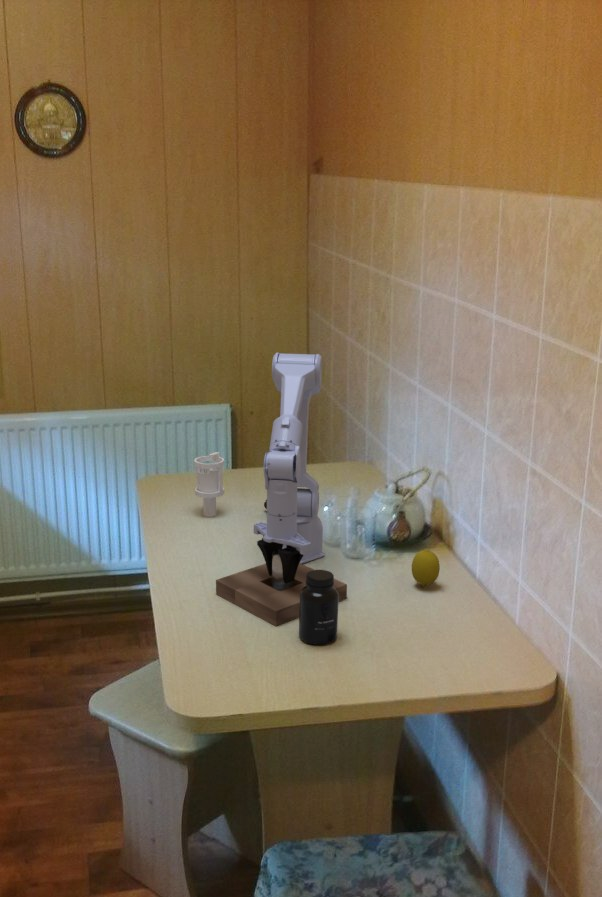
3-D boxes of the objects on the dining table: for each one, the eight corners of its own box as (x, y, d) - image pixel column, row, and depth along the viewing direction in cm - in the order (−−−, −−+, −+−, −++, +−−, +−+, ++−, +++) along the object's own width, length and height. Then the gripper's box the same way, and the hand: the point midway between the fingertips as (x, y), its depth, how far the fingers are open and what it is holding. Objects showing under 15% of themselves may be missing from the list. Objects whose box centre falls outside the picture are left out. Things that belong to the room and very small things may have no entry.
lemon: (441, 583, 188) (444, 546, 185) (433, 594, 183) (435, 556, 181) (415, 578, 190) (417, 542, 188) (406, 588, 185) (408, 551, 183)
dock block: (285, 570, 193) (285, 556, 192) (346, 598, 180) (347, 584, 179) (216, 594, 181) (215, 579, 181) (276, 626, 169) (276, 611, 168)
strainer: (230, 513, 226) (229, 454, 222) (212, 521, 220) (211, 461, 216) (207, 507, 229) (206, 449, 225) (189, 516, 224) (188, 456, 219)
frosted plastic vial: (285, 581, 183) (285, 547, 181) (296, 588, 180) (296, 554, 178) (267, 585, 181) (268, 552, 179) (279, 592, 178) (279, 558, 176)
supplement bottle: (324, 650, 160) (326, 586, 157) (291, 639, 164) (292, 576, 161) (344, 634, 166) (346, 572, 163) (311, 624, 169) (312, 563, 166)
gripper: (241, 506, 179) (241, 571, 182) (291, 526, 168) (290, 595, 172) (269, 498, 183) (269, 562, 187) (319, 518, 173) (318, 585, 177)
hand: (281, 577), depth 180 cm, fingers closed on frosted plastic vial, 4 cm apart
